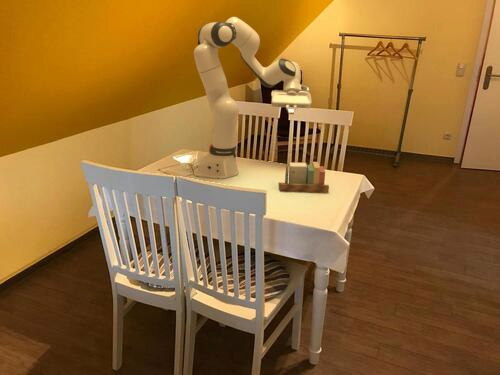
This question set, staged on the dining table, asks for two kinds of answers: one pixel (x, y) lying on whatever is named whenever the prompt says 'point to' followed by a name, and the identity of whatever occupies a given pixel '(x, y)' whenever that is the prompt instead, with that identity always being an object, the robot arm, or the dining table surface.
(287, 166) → the bookend
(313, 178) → the upright books
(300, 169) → the small box
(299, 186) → the walnut rail
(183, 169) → the dining table surface
